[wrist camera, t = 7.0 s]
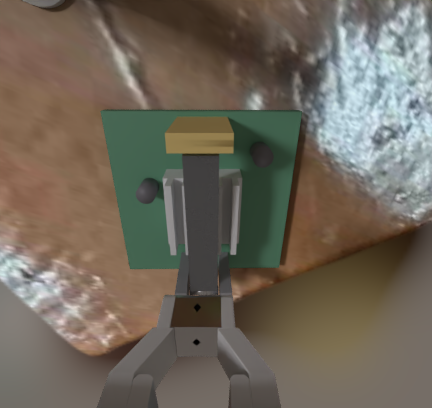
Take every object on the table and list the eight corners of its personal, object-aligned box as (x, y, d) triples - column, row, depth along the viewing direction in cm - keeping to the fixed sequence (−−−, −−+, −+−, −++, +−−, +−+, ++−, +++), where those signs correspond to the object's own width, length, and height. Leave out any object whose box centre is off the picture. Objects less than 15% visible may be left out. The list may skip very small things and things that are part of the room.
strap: (220, 152, 21) (220, 156, 21) (217, 289, 30) (218, 296, 29) (181, 152, 21) (180, 156, 21) (190, 289, 30) (189, 297, 29)
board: (298, 110, 27) (337, 126, 19) (276, 261, 36) (296, 317, 28) (104, 109, 26) (57, 125, 18) (132, 263, 35) (109, 320, 27)
